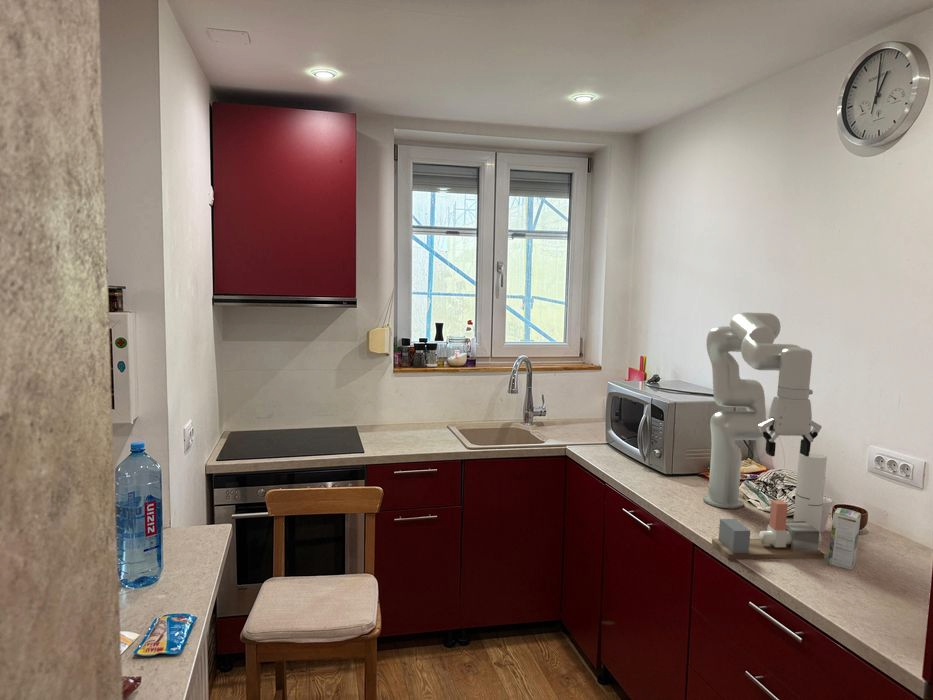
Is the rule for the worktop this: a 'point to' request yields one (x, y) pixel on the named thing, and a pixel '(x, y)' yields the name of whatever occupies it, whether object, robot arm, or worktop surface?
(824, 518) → the smoothie
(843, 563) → the syrup box
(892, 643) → the worktop surface
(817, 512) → the cylindrical container
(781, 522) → the slide bolt
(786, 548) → the roller board
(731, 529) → the socket
